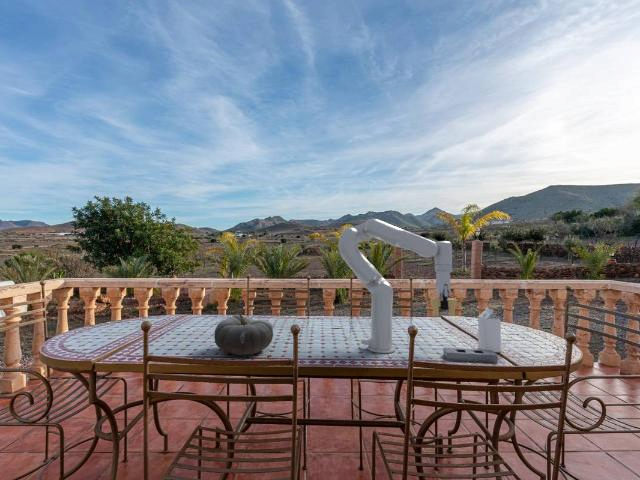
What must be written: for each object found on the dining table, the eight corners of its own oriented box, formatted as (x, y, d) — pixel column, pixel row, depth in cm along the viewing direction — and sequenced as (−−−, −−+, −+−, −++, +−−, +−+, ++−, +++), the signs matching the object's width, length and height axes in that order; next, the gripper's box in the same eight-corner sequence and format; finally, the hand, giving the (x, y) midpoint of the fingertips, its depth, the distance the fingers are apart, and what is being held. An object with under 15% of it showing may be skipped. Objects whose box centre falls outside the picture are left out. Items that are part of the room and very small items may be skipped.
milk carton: (492, 348, 173) (492, 307, 173) (500, 352, 166) (500, 310, 166) (478, 348, 173) (478, 307, 173) (485, 352, 166) (485, 310, 166)
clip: (431, 315, 166) (431, 298, 166) (430, 314, 169) (430, 298, 169) (457, 316, 165) (456, 299, 165) (455, 315, 168) (455, 298, 168)
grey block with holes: (446, 359, 154) (446, 352, 154) (443, 354, 162) (443, 347, 162) (497, 362, 151) (497, 355, 151) (491, 357, 159) (491, 350, 159)
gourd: (228, 336, 179) (233, 302, 177) (277, 348, 174) (282, 313, 173) (202, 356, 154) (207, 316, 152) (258, 370, 150) (264, 330, 148)
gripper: (431, 267, 176) (432, 306, 176) (437, 269, 160) (438, 311, 159) (448, 267, 175) (448, 306, 175) (455, 269, 159) (456, 312, 158)
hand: (443, 308), depth 167 cm, fingers closed on clip, 3 cm apart
